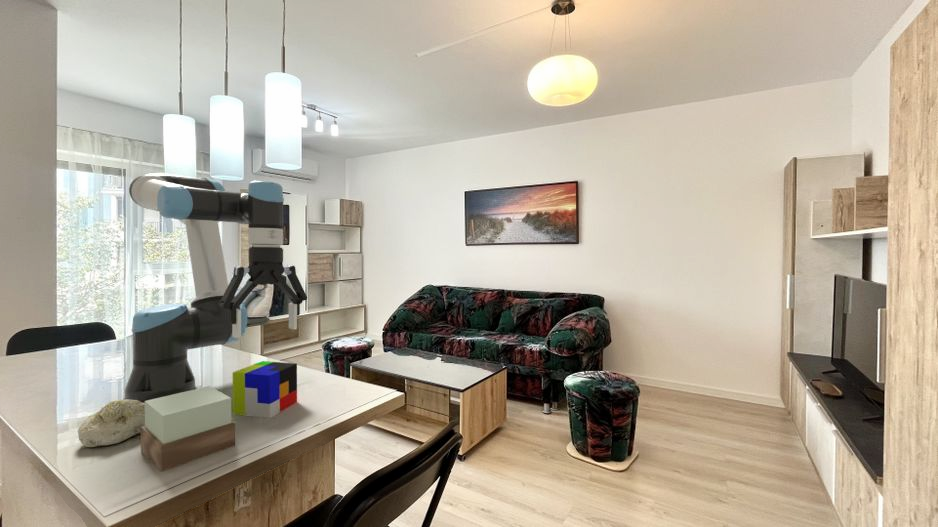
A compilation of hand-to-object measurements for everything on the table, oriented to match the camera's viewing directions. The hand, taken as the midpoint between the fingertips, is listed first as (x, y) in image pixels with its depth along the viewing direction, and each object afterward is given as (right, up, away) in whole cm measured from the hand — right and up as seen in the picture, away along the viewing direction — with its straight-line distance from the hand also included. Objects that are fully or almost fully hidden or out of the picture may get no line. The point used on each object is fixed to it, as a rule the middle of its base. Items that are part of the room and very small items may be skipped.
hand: (266, 333), depth 97 cm
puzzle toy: (0, -19, +1) cm, 19 cm away
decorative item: (-23, -19, -15) cm, 33 cm away
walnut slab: (-5, -19, -19) cm, 28 cm away
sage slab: (-5, -14, -20) cm, 25 cm away
